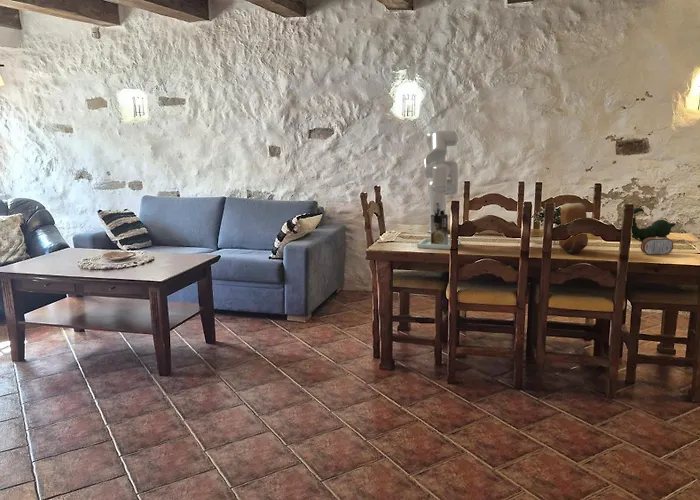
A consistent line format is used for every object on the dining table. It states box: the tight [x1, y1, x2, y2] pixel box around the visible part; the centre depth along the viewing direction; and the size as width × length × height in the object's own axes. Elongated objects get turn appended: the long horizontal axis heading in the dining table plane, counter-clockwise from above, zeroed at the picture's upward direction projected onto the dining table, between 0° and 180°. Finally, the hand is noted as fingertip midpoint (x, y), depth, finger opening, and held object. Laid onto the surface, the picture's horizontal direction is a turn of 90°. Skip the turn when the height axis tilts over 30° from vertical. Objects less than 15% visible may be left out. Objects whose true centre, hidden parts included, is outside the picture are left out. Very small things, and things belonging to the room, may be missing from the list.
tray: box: [416, 237, 461, 251], centre depth 307 cm, size 16×20×2 cm
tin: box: [640, 237, 674, 256], centre depth 275 cm, size 15×3×8 cm, turn 92°
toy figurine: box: [631, 207, 677, 241], centre depth 306 cm, size 9×19×25 cm
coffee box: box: [430, 213, 449, 245], centre depth 306 cm, size 9×6×16 cm
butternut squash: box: [558, 202, 589, 254], centre depth 281 cm, size 14×13×25 cm
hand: (439, 221), depth 305 cm, fingers open, 9 cm apart
